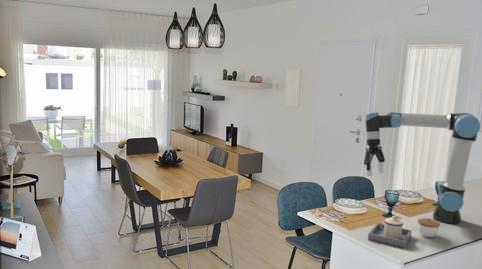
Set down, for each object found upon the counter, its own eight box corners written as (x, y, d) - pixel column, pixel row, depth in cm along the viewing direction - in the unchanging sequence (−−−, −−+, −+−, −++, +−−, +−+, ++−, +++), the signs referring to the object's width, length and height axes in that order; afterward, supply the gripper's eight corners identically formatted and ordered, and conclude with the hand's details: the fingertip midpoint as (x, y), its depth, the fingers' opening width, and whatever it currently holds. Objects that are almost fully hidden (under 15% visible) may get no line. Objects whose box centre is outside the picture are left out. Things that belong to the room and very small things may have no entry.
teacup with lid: (405, 238, 215) (407, 217, 214) (395, 242, 210) (397, 220, 208) (384, 231, 225) (386, 210, 223) (374, 235, 219) (376, 213, 217)
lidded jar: (428, 240, 216) (430, 223, 214) (412, 233, 225) (413, 216, 224) (442, 237, 220) (444, 220, 219) (426, 230, 230) (427, 214, 228)
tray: (411, 236, 220) (411, 230, 220) (404, 248, 205) (405, 241, 205) (376, 228, 230) (377, 222, 229) (367, 239, 214) (368, 233, 214)
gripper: (377, 137, 257) (379, 171, 257) (356, 140, 239) (358, 176, 240) (389, 137, 251) (391, 172, 252) (368, 139, 234) (370, 177, 234)
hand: (375, 174), depth 246 cm, fingers open, 13 cm apart
